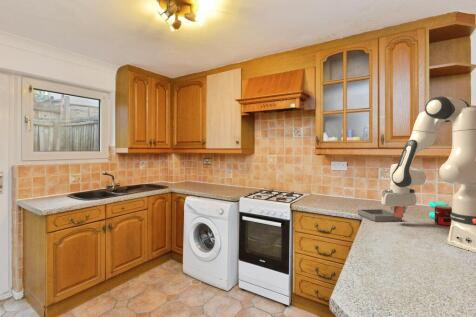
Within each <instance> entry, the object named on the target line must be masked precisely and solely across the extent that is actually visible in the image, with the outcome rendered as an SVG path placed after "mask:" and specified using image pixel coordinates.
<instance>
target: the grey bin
mask: <svg viewBox="0 0 476 317" xmlns="http://www.w3.org/2000/svg"><path fill="white" fill-rule="evenodd" d="M357 215H358V216H360V217H362V218H364V219H367V220H370V221H371V222H373V223H386V222H387V223H389V222H391V223H392V222H393V223H394V222H402V221H403V218H399V217H394V216H393V213H391V211H389V210H386V209H381V208H379V209H378V208H377V209H376V208H375V209H374V208H373V209H371V208H370V209H364V208H363V209H357Z"/></svg>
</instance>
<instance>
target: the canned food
mask: <svg viewBox="0 0 476 317" xmlns="http://www.w3.org/2000/svg"><path fill="white" fill-rule="evenodd" d="M434 212H435V218H433V220H434V224H435V225H437V226H444V227H451V216H450V215H451V212H452V206H449V205H448V206H446V205H435V208H434Z"/></svg>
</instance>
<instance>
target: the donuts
mask: <svg viewBox="0 0 476 317" xmlns="http://www.w3.org/2000/svg"><path fill="white" fill-rule="evenodd" d="M428 205H429V207H431V208H432V209H435V205H446V206H449V204H448V203H447V202H441V201H431V202H429V203H428ZM428 216H429V218H432V219H434V218H435V211H431V212H429V214H428Z"/></svg>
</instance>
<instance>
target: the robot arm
mask: <svg viewBox="0 0 476 317" xmlns="http://www.w3.org/2000/svg"><path fill="white" fill-rule="evenodd" d="M424 106H425V107H424V111H421V112H420V113H418V115H417V117H416V119H415V121H414V125H413V128H412V131H411V135H410V136H409V139H408V140H407V141H406V143H405V145H404V147H403V149H402V152H401V154H400V158H399V159H398V162H395V163H392V164H391V166H390V169H389V178H390V182H389V189H385V190H383V191H382V193H381V201H380V203H381V205H382V206H385V207H389V209H390V212H391V213H396V210H394V206H402V207H403V214H406V211H407V209H408V207H409V206H415V205H417V196H416V189H414V188H411V187H417V186H421V185H423V184H424V183H425V181H426V178H427V177H426V173H425V172H424V171H423V170H421V169H419V168H415V167H412V165H413V163H414V160H415V157H416V156H417V154H419V153H420V152H421V151H423V150H425V149H428V148H430V147H431V146H433V145H434V142H435V141H436V140H437V137H438V132H439V128H440V127H441V126H440V125H441V124H442V123H443V122H445V123H447V122H450V123H451V127H452V129H451V130H452V131H451V134H452V138H451V139H452V141H451V150H450V154H449V156H448V158H447V160H446V161H445V162H444V163H443V164H441V166H440V167H439V169H438V171H439V172H438V173H439V177H440V178H441V180H442V181H443V182H445V183H449V184H454V185H460V187H459V189H458V191H457V192H455V193H453V195H452V196H451V198H452V200H451V207H452V212H451V215H450V216H451V226H449V232H448V235H447V239H446V241H447V242H446V244H447V245H450V246H453V247H456V248H460V249H463V250H466V251H468V250H469V251H468V252H472V253H475V254H476V107H472V106H471V105H470V104H469V102H467V101H465V100H464V99H461V98H460V99H459V98H456V97H451V96H436V97H433V98H431V99H429V100H428V101H427V102H426V103H425V105H424Z"/></svg>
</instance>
